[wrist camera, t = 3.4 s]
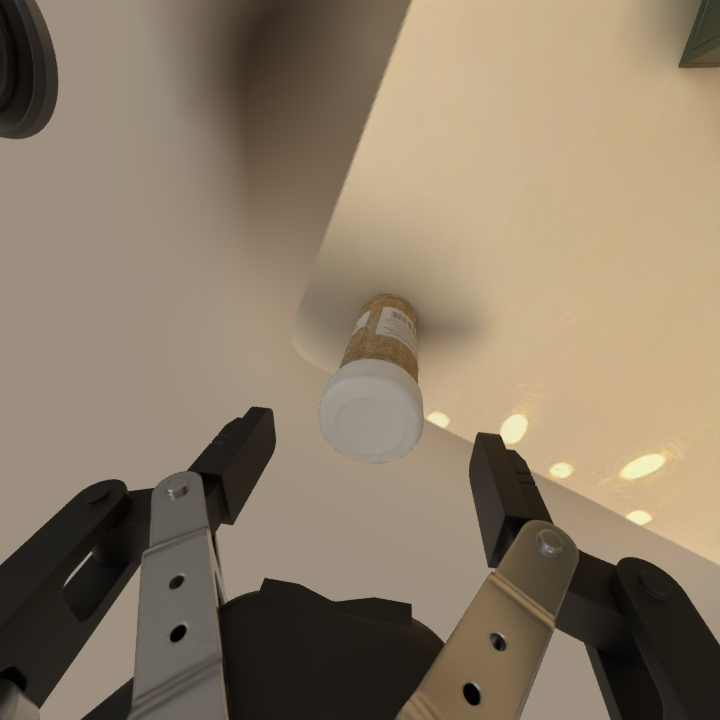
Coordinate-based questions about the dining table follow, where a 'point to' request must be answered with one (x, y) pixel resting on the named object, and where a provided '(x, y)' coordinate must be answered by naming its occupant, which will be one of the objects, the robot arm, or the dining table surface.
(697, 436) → the dining table surface
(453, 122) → the dining table surface
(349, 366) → the sprinkles bottle
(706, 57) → the chute
